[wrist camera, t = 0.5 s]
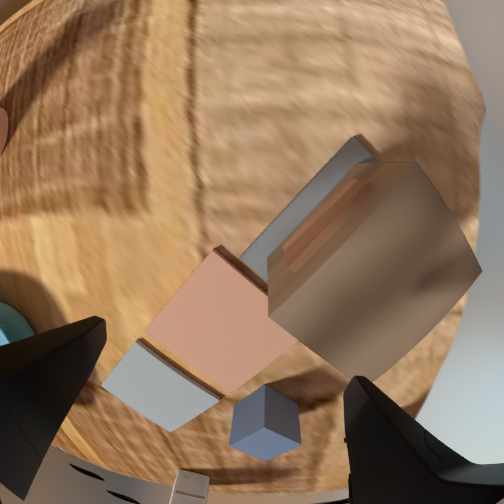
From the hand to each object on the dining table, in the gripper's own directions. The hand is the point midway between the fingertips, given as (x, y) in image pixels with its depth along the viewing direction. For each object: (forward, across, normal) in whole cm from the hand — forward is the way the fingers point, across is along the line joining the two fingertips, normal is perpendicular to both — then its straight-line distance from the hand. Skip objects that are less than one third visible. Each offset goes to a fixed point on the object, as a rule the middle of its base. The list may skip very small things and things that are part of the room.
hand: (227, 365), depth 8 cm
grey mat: (+14, +7, +20) cm, 25 cm away
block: (+14, -6, +17) cm, 23 cm away
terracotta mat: (+14, 0, +8) cm, 16 cm away
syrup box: (+14, 0, +44) cm, 46 cm away
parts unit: (+14, -8, -2) cm, 16 cm away
